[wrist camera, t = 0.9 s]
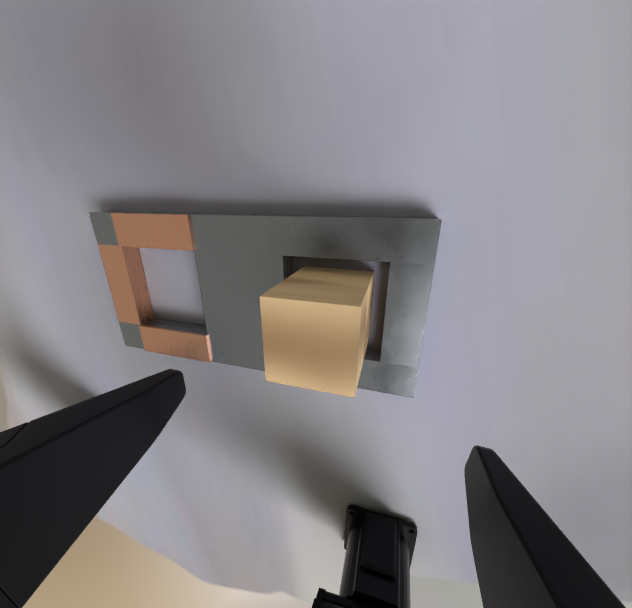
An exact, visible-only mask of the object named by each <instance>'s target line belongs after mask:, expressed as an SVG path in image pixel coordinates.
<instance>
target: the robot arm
mask: <svg viewBox="0 0 632 608" xmlns="http://www.w3.org/2000/svg"><path fill="white" fill-rule="evenodd" d="M185 393H186V387H185V382H184V377H183V373H182V372H181V371H178V370H174V369H168V370H165V371H162V372H160V373H157V374H154V375H152V376H149V377H147V378H144V379H141V380H139V381H136V382H133V383H131V384H128V385H125V386H123V387H120V388H117V389H115V390H112V391H109V392H107V393H104V394H101V395H99V396H96V397H93V398H91V399H88V400H85V401H83V402H80V403H77V404H75V405H72V406H69V407H67V408H64V409H61V410H59V411H56V412H53V413H51V414H48V415H45V416H43V417H40V418H37V419H35V420H32V421H30V422H29V423H24V424H21V425H19V426H16V427H13V428H11V429H8V430H5V431H3V432H0V608H22V607H23V606H24V605H25V603H26V602H27V601H28V599H29V598H30V597H31V596H32V595H33V593H34V592H35V591H36V589H37V588H38V587H39V586H40V584H41V583H42V582H43V581H44V579H45V578H46V577H47V575H48V574H49V573H50V572H51V571H52V569H53V568H54V567H55V566H56V564H57V563H58V562H59V560H60V559H61V558H62V557H63V555H64V554H65V553H66V551H68V549H69V548H70V547H71V546H72V544H73V543H74V542H75V540H76V539H77V538H78V537H79V535H80V534H81V533H82V532H83V530H84V529H85V528H86V527H87V525H88V524H89V523H90V522H91V520H92V519H93V518H94V517H95V515H96V514H97V513H98V512H99V510H100V509H101V508H102V507H103V505H104V504H105V503H106V502H107V500H108V499H109V498H110V497H111V495H112V494H113V493H114V492H115V490H116V489H117V488H118V486H119V485H120V484H121V483H122V481H123V480H124V479H125V478H126V476H127V475H128V474H129V473H130V471H131V470H132V469H133V468H134V466H135V465H136V464H137V463H138V461H139V460H140V459H141V458H142V456H143V455H144V454H145V453H146V451H147V450H148V449H149V448H150V446H151V445H152V444H153V442H154V441H155V440H156V438H157V437H158V436H159V434H160V433H161V431H162V430H163V428H164V427H165V425H166V424H167V422H168V421H169V419H170V418H171V416H172V415H173V413H174V412H175V410H176V409H177V407H178V406H179V404H180V403H181V401H182V400H183V398H184V396H185ZM465 485H466V495H467V506H468V517H469V528H470V537H471V544H472V550H473V556H474V561H475V566H476V571H477V577H478V582H479V587H480V592H481V597H482V602H483V607H484V608H626V607H625V606H624V605H623V604H622V603H621V601H620V600H619V599H618V598H617V597H616V595H615V594H614V593H613V592H612V591H611V589H610V588H609V587H608V586H607V585H606V584H605V582H604V581H603V580H602V579H601V578H600V576H599V575H598V574H597V573H596V572H595V570H594V569H593V568H592V567H591V566H590V564H589V563H588V562H587V561H586V560H585V559H584V557H583V556H582V555H581V554H580V553H579V551H578V550H577V549H576V548H575V547H574V545H573V544H572V543H571V542H570V541H569V540H568V538H567V537H566V536H565V535H564V534H563V532H562V531H561V530H560V529H559V528H558V526H557V525H556V524H555V523H554V522H553V520H552V519H551V518H550V517H549V516H548V515H547V513H546V512H545V511H544V510H543V509H542V507H541V506H540V505H539V504H538V503H537V501H536V500H535V499H534V498H533V497H532V495H531V494H530V493H529V492H528V491H527V490H526V488H525V487H524V486H523V485H522V484H521V482H520V481H519V480H518V479H517V478H516V476H515V475H514V474H513V473H512V472H511V471H510V469H509V468H508V467H507V466H506V465H505V463H504V462H503V461H502V460H501V459H500V457H499V456H498V455H497V454H496V453H495V452H494V451H493V450H492V449H489V448H485V447H481V446H474V447H473V449H472V451H471V453H470V456H469V458H468V460H467V463H466V465H465ZM416 537H417V526H416V525H415V524H413V523H410V522H407V521H403V520H400V519H396V518H393V517H390V516H386V515H383V514H380V513H376V512H373V511H369V510H366V509H363V508H359V507H356V506H352V505H349V506H348V507H347V511H346V527H345V542H344V548H345V549H346V555H345V561H344V568H343V574H342V580H341V587H340V593H339V595H336V594H333V593H330V592H327V591H326V590H325V589H322V588H319V590H318V593H317V597H316V598H315V599H314V602H313V605H312V608H410V565H411V560H412V556H413V551H414V546H415V541H416Z"/></svg>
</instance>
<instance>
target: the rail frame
mask: <svg viewBox="0 0 632 608" xmlns="http://www.w3.org/2000/svg"><path fill="white" fill-rule="evenodd" d="M89 214H90V218H91V221H92V225H93V229H94V232H95V236H96V239H97V243H98V247H99V250H100V254H101V258H102V261H103V265H104V269H105V272H106V276H107V280H108V283H109V287H110V291H111V294H112V298H113V301H114V305H115V309H116V312H117V316H118V320H119V323H120V327H121V331H122V334H123V338H124V342H125V345H126V346H131V347H136V348H142V349H145V351H151V352H156V353H162V354H167V355H172V356H178V357H183V358H189V359H194V360H200V361H205V362H211V361H213V362H219V363H224V364H230V365H235V366H241V367H246V368H252V369H257V370H263V371H265V364H264V350H263V336H262V322H261V309H260V296H261V295H262V294H264V293H265V292H267V291H268V290H270V289H271V288H273V287H274V286H276V285H277V284H279V283H280V282H282V281H283V280H285V279H286V278H288V277H289V276H291V256H298V257H314V258H331V259H347V260H364V261H380V262H390V268H389V278H388V288H387V298H386V308H385V318H384V328H383V338H382V348H381V351H377V350H370V349H366V352H365V356H364V360H363V364H362V369H361V373H360V377H359V381H358V386H357V388H361V389H367V390H372V391H378V392H383V393H389V394H394V395H400V396H405V397H411V398H413V397H414V391H415V384H416V378H417V372H418V365H419V359H420V353H421V347H422V340H423V334H424V328H425V321H426V315H427V309H428V303H429V296H430V290H431V284H432V277H433V271H434V265H435V259H436V252H437V246H438V240H439V233H440V227H441V221H442V220H441V219H439V218H397V217H345V216H293V215H241V214H188V213H136V212H92V213H89ZM138 247H141V248H157V249H173V250H190V251H194V250H195V256H196V263H197V269H198V276H199V282H200V289H201V295H202V302H203V309H204V315H205V322H206V326H203V325H197V324H190V323H183V322H176V321H169V320H162V319H155V318H154V315H153V311H152V306H151V302H150V297H149V293H148V289H147V284H146V280H145V275H144V271H143V266H142V262H141V257H140V253H139V248H138Z"/></svg>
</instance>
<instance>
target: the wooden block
mask: <svg viewBox="0 0 632 608" xmlns="http://www.w3.org/2000/svg"><path fill="white" fill-rule="evenodd" d="M373 281H374V271H364V270H350V269H336V268H321V267H307V266H304V267H303V268H301V269H300V270H298V271H297V272H295V273H294V274H292V275H291V276H289V277H288V278H286V279H285V280H283V281H282V282H280V283H279V284H277V285H276V286H274V287H273V288H271V289H270V290H268V291H267V292H265V293H264V294H262V295H261V296H260V309H261V322H262V336H263V350H264V364H265V377H266V381H270V382H275V383H281V384H286V385H291V386H296V387H301V388H307V389H312V390H317V391H322V392H328V393H333V394H338V395H343V396H348V397H354V398H355V394H356V390H357V386H358V381H359V377H360V373H361V369H362V364H363V360H364V356H365V352H366V348H367V343H368V339H369V331H370V318H371V306H372V293H373Z"/></svg>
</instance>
